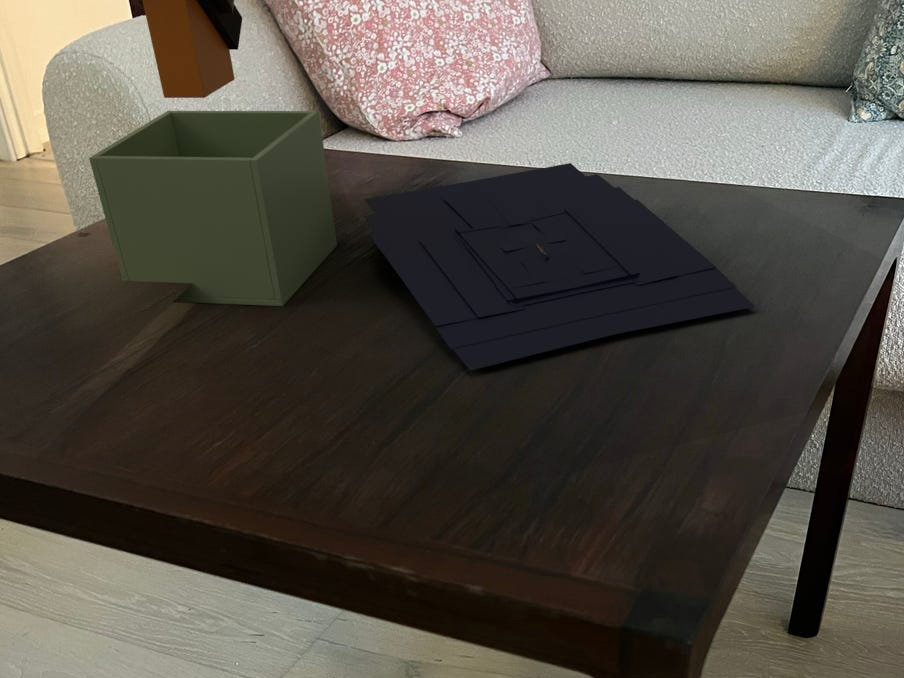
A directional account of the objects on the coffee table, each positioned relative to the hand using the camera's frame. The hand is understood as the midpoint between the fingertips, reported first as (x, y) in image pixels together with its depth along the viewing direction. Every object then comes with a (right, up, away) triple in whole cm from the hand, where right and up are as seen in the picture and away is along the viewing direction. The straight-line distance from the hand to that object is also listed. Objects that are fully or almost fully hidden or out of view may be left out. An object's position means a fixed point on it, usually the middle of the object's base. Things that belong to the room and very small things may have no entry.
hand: (211, 33), depth 85 cm
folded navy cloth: (+27, -18, +4) cm, 33 cm away
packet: (-1, -5, -1) cm, 5 cm away
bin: (0, -16, +9) cm, 18 cm away
